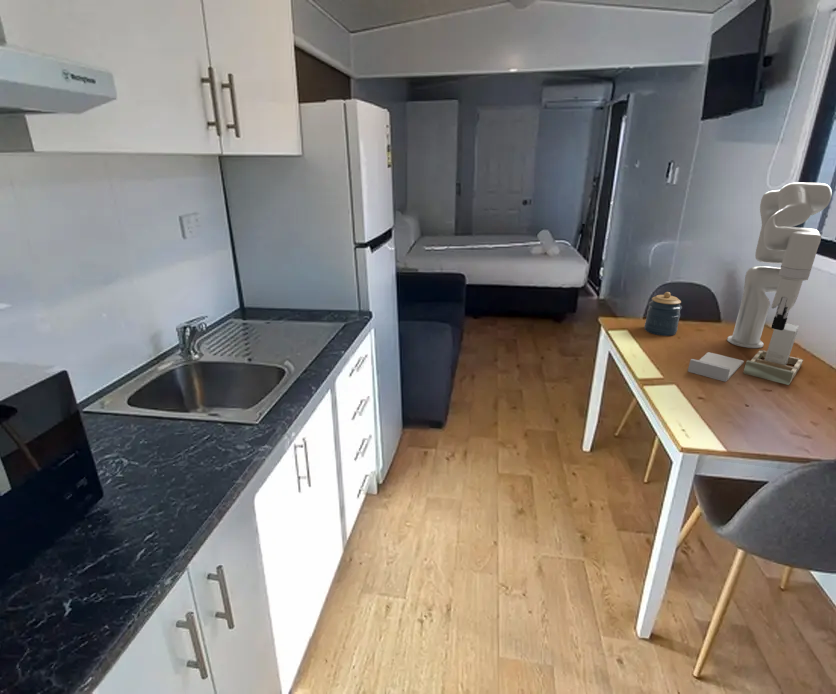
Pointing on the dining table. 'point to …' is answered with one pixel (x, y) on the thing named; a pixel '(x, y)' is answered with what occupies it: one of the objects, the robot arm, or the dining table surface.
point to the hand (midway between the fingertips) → (777, 328)
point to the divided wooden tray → (772, 368)
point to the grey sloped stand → (715, 366)
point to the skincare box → (781, 344)
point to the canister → (663, 315)
